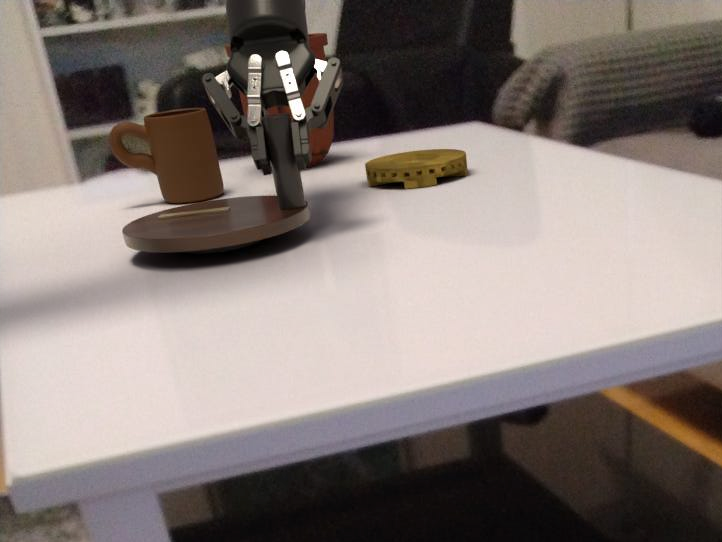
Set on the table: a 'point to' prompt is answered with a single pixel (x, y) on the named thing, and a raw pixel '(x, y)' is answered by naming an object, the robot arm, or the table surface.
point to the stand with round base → (231, 209)
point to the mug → (174, 153)
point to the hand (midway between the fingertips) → (283, 166)
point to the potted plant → (306, 104)
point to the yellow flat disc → (416, 167)
